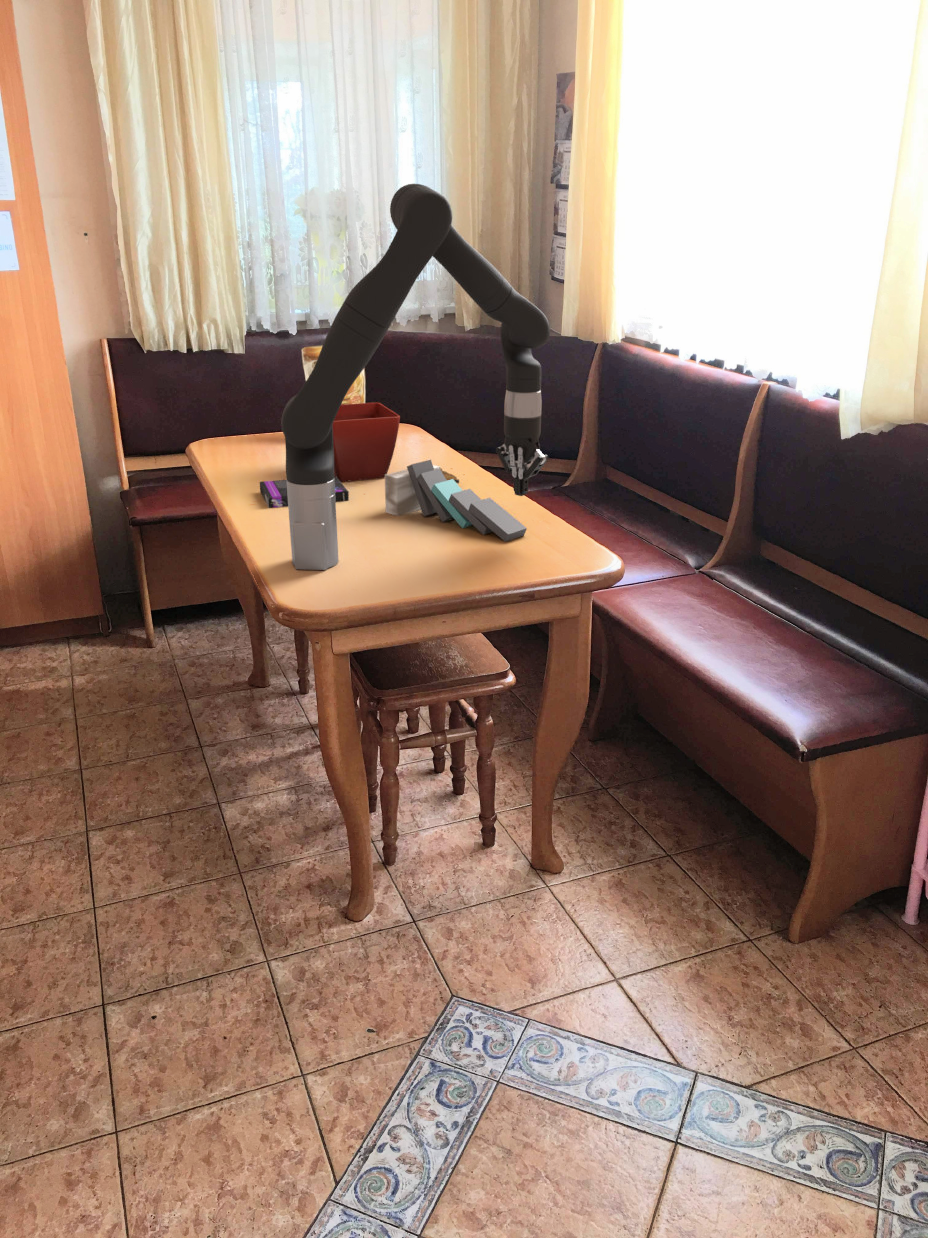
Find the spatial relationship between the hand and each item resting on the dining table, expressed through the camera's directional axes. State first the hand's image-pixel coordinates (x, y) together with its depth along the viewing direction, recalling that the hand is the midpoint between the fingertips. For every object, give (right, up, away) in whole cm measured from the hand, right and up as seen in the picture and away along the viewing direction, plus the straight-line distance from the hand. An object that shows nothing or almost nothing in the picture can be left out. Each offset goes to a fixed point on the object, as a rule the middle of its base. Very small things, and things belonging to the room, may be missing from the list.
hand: (520, 494), depth 204 cm
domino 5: (-1, -8, +4) cm, 9 cm away
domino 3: (-10, -5, +12) cm, 16 cm away
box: (-51, +3, +33) cm, 61 cm away
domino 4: (-5, -6, +8) cm, 12 cm away
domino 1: (-18, -2, +20) cm, 27 cm away
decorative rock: (-20, +8, +44) cm, 49 cm away
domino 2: (-14, -3, +16) cm, 22 cm away
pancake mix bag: (-50, +27, +87) cm, 103 cm away
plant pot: (-40, +12, +52) cm, 67 cm away
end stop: (-24, 0, +25) cm, 34 cm away
